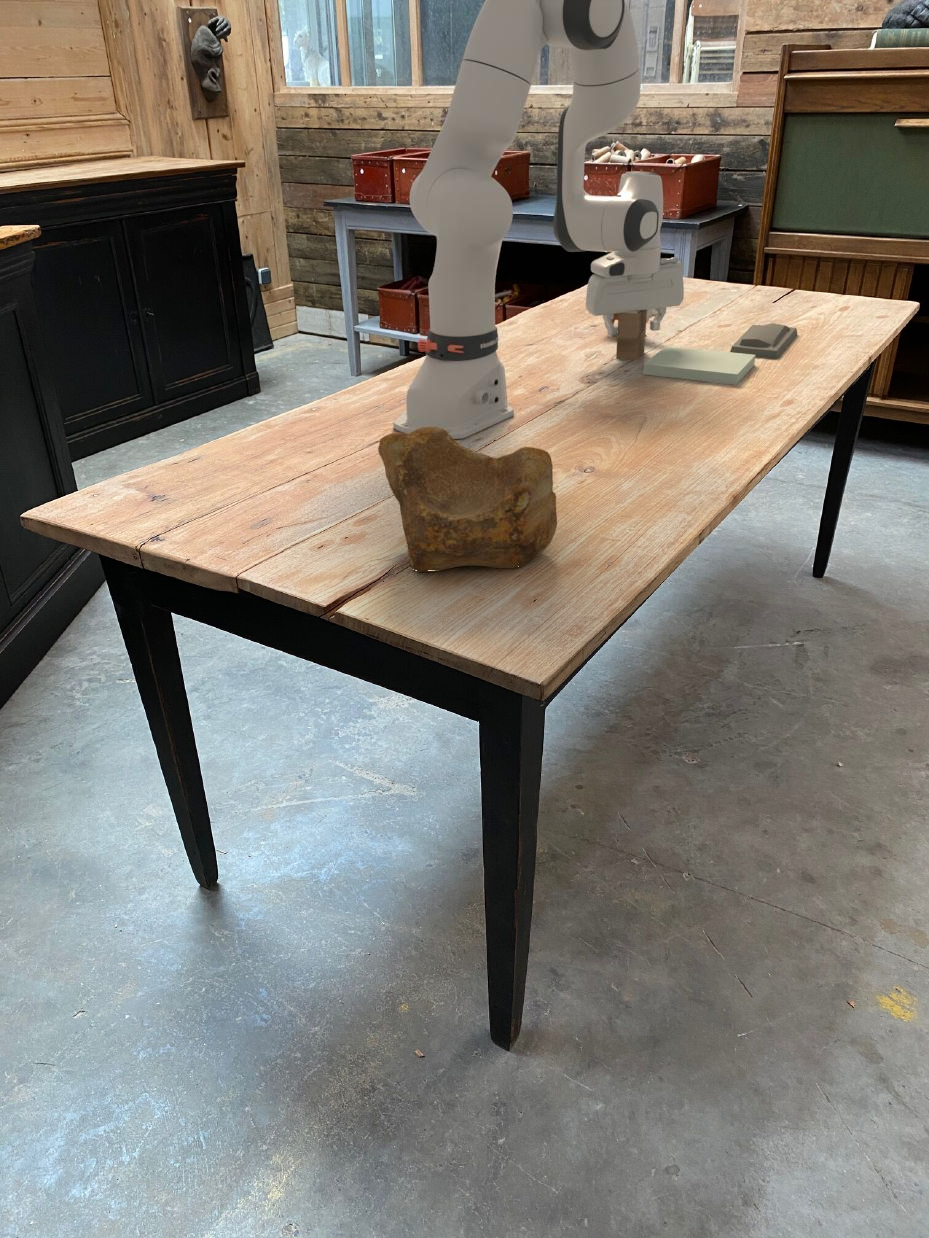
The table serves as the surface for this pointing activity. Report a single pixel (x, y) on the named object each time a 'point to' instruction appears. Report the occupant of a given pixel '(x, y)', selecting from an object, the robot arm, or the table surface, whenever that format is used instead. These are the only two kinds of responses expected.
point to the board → (699, 365)
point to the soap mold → (765, 340)
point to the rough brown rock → (469, 501)
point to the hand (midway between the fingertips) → (633, 332)
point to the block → (631, 334)
